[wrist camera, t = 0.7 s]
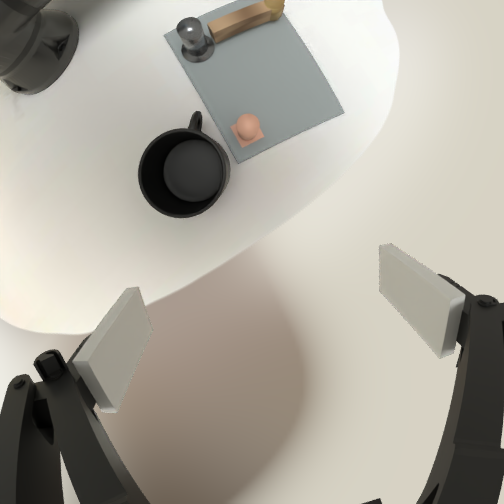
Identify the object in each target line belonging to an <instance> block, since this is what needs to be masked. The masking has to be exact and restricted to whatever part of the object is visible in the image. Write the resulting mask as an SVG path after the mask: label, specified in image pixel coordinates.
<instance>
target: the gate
mask: <svg viewBox="0 0 504 504" xmlns="http://www.w3.org/2000/svg"><path fill="white" fill-rule="evenodd" d="M284 1H285V0H263V1H260V2H258V3H255V4H252V5H249V6H247V7H244V8H242V9H239V10H237V11H234V12H232V13H229V14H227V15H224V16H222V17H220V18H218V19H215V20H213V21H211V22H209V23H207V25H208V29H209V33H210V35H211V37H212V38H213V40H214V41H215V43H218V42H220V41H222V40H224V39H227V38H229V37H231V36H233V35H236V34H238V33H240V32H243V31H245V30H247V29H250V28H252V27H255V26H257V25H260V24H263V23H265V22H268V21H276V20H278V19H279V18H280V17H281V16H282V13H283V9H284V6H285V5H284Z"/></svg>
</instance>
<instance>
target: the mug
mask: <svg viewBox="0 0 504 504" xmlns="http://www.w3.org/2000/svg"><path fill="white" fill-rule="evenodd" d="M201 127H202V114H201V112H200V111H196V112H194V113H193V115H192V117H191V120H190V124H189V127H188V129H186V128H180V129H173V130H170V131H167V132H165V133H163V134H161V135H159V136H158V137H157V138H155V139H154V140H153V141H152V142H151V143H150V144H149V145H148V147H147V148H146V149H145V151H144V153H143V155H142V157H141V160H140V164H139V169H138V179H139V185H140V188H141V191H142V193H143V195H144V197H145V199H146V200H147V202H148V203H149V204H150V205H151V206H152V207H153V208H154V209H156V210H157V211H159V212H160V213H162V214H164V215H167V216H170V217H174V218H189V217H193V216H196V215H199V214H201V213H203V212H204V211H206V210H208V209H209V208H210V207H211V206H212V205H213V204H214V203H215V202H216V201H217V200H218V198H219V197H220V195H221V194H222V192H223V191H224V189H225V188H226V186H227V184H228V181H229V177H230V163H229V159H228V156H227V154H226V152H225V151H224V149H223V148H222V147H221V146H220V145H219V144H218V143H217V142H216V141H214V140H213V139H211V138H210V137H209V136H207V135H206V134H204V133H202V131H201Z"/></svg>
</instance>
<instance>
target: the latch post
mask: <svg viewBox="0 0 504 504" xmlns="http://www.w3.org/2000/svg"><path fill="white" fill-rule="evenodd" d="M230 127H231V129H232V131H233V133H234V135H235V136H236V138H237V140H238V142H239V143H240V145H241V147H242V148H243V147H245V146H247V145H249V144H251V143H253V142H255V141H257V140H259V139H261V138H263V137H264V135H263V133H262V131H261V129H260V128H259V127H260V122H259V119H258V118H257V117H256V116H255V115H253V114H243V115H241V116H240V117H239V118H238V120H237V123H236V124H234V125H232V126H230Z"/></svg>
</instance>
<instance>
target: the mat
mask: <svg viewBox="0 0 504 504" xmlns="http://www.w3.org/2000/svg"><path fill="white" fill-rule="evenodd" d="M260 1H263V0H237V1H234V2H232V3H229V4H227V5H225V6H222V7H220V8H217V9H215V10H213V11H211V12H208V13H206V14H204V15H202V16H200V17H198V18H197V19H198V20H200V22H201V24H202V28H203V31H204V34H205V35H206V36H208V37H210V38H211V39H212V40H213V38H212V37H211V35H210V33H209V29H208V25H207V23H209V22H211V21H213V20H215V19H218V18H220V17H222V16H224V15H227V14H229V13H232V12H234V11H237V10H239V9H242V8H244V7H247V6H249V5H252V4H255V3H258V2H260ZM164 37H165V38H166V40H167V42H168V43H169V45H170V47H171V48H172V50H173V52H174V53H175V55H176V57H177V58H178V60H179V62H180V63H181V65H182V67H183V68H184V70H185V72H186V73H187V75H188V77H189V78H190V80H191V82H192V83H193V85H194V87H195V89H196V90H197V92H198V94H199V95H200V97H201V99H202V101H203V102H204V104H205V106H206V108H207V109H208V111H209V113H210V114H211V116H212V118H213V120H214V121H215V123H216V125H217V127H218V128H219V130H220V132H221V134H222V136H223V137H224V139H225V141H226V143H227V144H228V146H229V148H230V150H231V152H232V153H233V155H234V157H235V159H236V161H237V162H238V164H239V163H241V162H243V161H245V160H247V159H249V158H251V157H253V156H254V155H256V154H258V153H260V152H262V151H264V150H266V149H268V148H270V147H272V146H274V145H276V144H278V143H280V142H282V141H284V140H286V139H288V138H290V137H292V136H295V135H297V134H299V133H301V132H303V131H305V130H307V129H309V128H311V127H314V126H316V125H318V124H320V123H322V122H325V121H327V120H329V119H331V118H334V117H336V116H338V115H340V114H343V113H344V111H343V109H342V107H341V105H340V103H339V101H338V99H337V97H336V96H335V94H334V92H333V90H332V88H331V87H330V85H329V83H328V81H327V80H326V78H325V76H324V74H323V73H322V71H321V69H320V68H319V66H318V64H317V63H316V61H315V60H314V58H313V56H312V55H311V53H310V52H309V50H308V48H307V47H306V45H305V44H304V42H303V41H302V39H301V38H300V36H299V35H298V33H297V32H296V30H295V29H294V27H293V26H292V24H291V23H290V22H289V20H288V19H287V17H286V16H285V15H284V13H282V16H281V17H280V18H279V19H278V20H276V21H268V22H265V23H263V24H260V25H257V26H255V27H252V28H250V29H247V30H245V31H243V32H240V33H238V34H236V35H233V36H231V37H229V38H227V39H224V40H222V41H220V42H218V43H215V41H214V40H213V42H214V46H215V50H214V53H213V55H212V56H211V57H210V58H209V59H208V60H206V61H204V62H202V63H191V62H189V61H187V60H186V59H185V58H184V57H183V55H182V52H181V48H182V45H183V42H182V40H181V38H180V36H179V34H178V33H177V28H176V29H174V30H172V31H170V32H168V33H167V34H165V35H164ZM243 114H253V115H255V116H256V117H257V118H258V119H259V122H260V127H259V128H260V129H261V131H262V133H263V135H264V137H263V138H261V139H259V140H257V141H255V142H253V143H251V144H249V145H247V146H245V147H243V148H242V147H241V145H240V143H239V142H238V140H237V138H236V136H235V135H234V133H233V131H232V129H231V127H230V126H232V125H234V124H236V123H237V120H238V118H239V117H240V116H241V115H243Z"/></svg>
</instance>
